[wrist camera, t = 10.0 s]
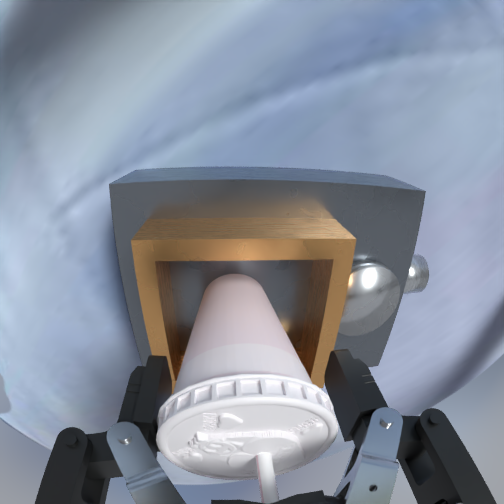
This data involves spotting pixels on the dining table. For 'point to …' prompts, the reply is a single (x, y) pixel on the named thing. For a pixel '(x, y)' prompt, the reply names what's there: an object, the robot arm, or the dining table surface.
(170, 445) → the smoothie
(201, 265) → the grey flat boxy piece
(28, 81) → the dining table surface
